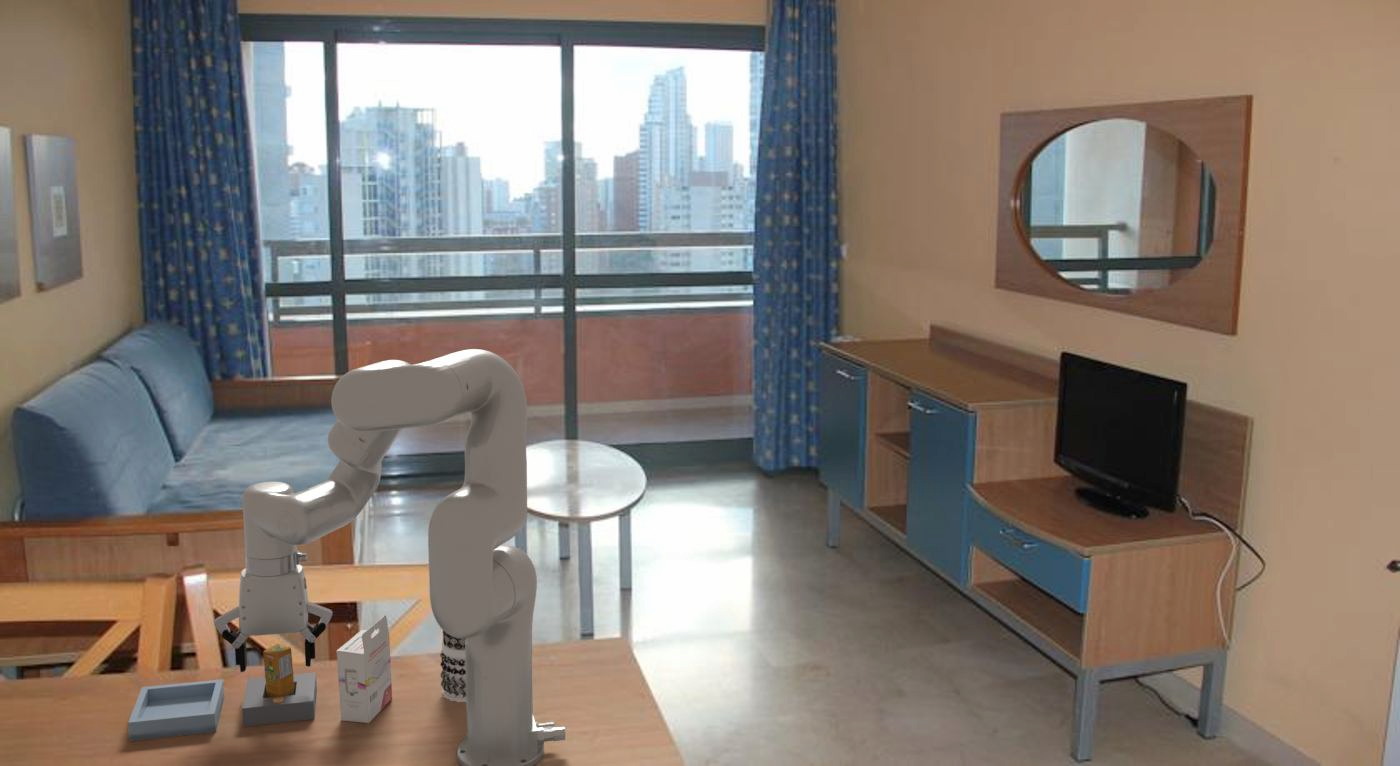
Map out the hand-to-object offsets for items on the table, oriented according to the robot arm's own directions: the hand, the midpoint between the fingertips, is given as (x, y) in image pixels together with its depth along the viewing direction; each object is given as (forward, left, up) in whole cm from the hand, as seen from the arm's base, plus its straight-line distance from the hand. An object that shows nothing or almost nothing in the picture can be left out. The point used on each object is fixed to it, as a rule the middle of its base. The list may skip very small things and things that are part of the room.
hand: (276, 665), depth 190 cm
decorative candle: (-29, +1, -7) cm, 30 cm away
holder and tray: (+7, 0, -7) cm, 10 cm away
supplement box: (0, 0, -7) cm, 7 cm away
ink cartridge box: (-13, +4, -7) cm, 16 cm away
